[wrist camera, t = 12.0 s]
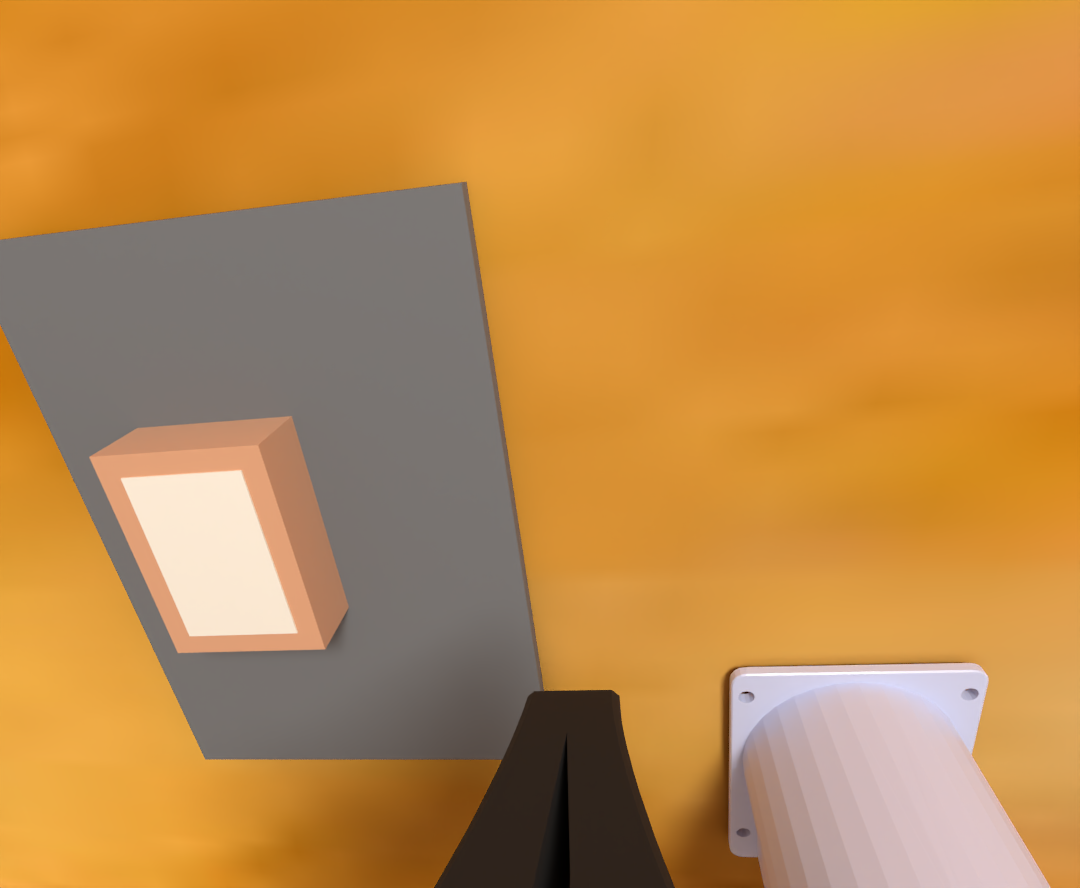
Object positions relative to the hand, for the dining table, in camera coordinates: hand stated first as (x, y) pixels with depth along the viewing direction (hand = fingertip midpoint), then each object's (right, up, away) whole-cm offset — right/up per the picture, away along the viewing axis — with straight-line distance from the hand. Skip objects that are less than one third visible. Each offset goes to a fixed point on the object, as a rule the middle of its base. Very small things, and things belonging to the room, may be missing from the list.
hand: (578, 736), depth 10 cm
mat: (-8, +2, +11) cm, 14 cm away
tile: (-8, +2, +9) cm, 12 cm away
